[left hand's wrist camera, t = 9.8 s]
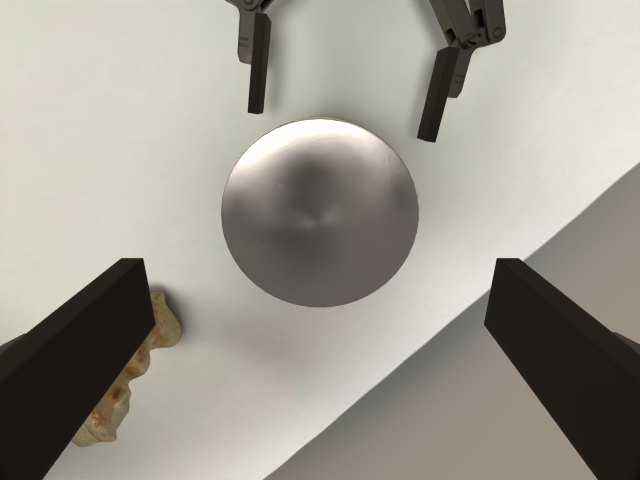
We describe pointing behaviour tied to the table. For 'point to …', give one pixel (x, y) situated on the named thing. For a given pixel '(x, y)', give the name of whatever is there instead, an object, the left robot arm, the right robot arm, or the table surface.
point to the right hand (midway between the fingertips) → (341, 127)
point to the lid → (320, 212)
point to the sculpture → (129, 378)
